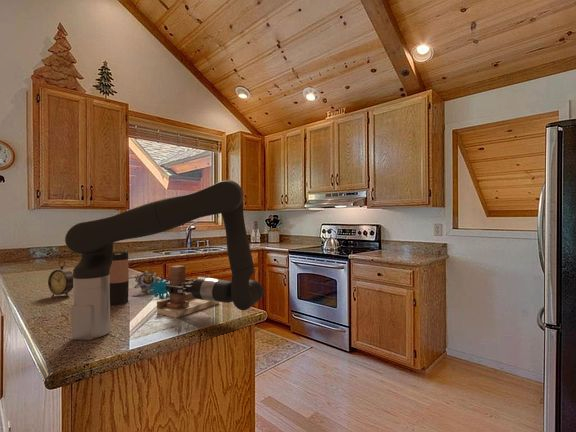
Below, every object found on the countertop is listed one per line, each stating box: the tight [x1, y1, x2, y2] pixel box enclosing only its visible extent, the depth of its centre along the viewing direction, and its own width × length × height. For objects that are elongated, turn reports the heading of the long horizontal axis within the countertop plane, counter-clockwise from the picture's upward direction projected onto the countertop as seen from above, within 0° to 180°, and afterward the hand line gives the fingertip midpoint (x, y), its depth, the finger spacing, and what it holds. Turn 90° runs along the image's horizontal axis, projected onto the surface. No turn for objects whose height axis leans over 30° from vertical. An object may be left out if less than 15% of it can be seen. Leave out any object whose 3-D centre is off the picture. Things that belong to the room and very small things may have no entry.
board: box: [156, 293, 220, 319], centre depth 120 cm, size 21×10×4 cm, turn 150°
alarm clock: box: [47, 259, 73, 298], centre depth 141 cm, size 11×5×16 cm, turn 73°
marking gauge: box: [167, 264, 189, 310], centre depth 115 cm, size 6×6×15 cm
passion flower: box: [133, 269, 161, 295], centre depth 149 cm, size 11×11×12 cm
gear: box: [150, 277, 170, 299], centre depth 140 cm, size 11×6×10 cm
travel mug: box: [110, 251, 130, 306], centre depth 130 cm, size 8×8×20 cm
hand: (176, 284), depth 116 cm, fingers open, 8 cm apart
